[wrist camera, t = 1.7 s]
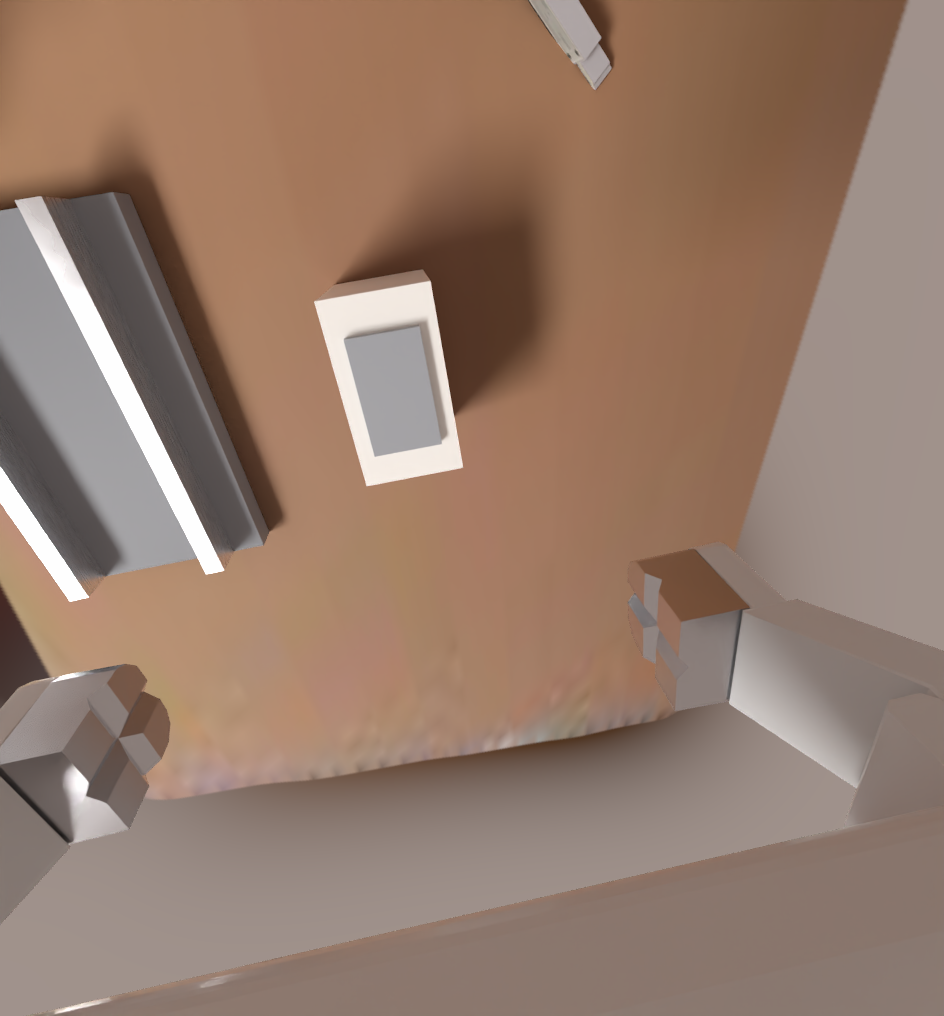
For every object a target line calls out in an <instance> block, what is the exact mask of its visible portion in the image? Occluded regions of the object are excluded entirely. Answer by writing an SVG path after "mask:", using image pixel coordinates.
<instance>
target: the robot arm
mask: <svg viewBox="0 0 944 1016" xmlns="http://www.w3.org/2000/svg"><path fill="white" fill-rule="evenodd" d="M628 583H629V584H630V586H631V588H632V589H633V591H634V592H635V593H634V594H633V596H632V597H631V599H630V600H629V601H628V619H629V624H630V628H631V632H632V635H633V638H634V640H635V643H636V645H637V647H638V649H639V651H640V652H641V654H642V656H643V657H644V658H646V659H648V660H650V661H651V662H653V663H655V664H656V669H655V678H656V680H657V682H658V683H659V685H660V687H661V688H662V690H663V692H664V693H665V695H666V697H667V698H668V700H669V702H670V703H671V705H672V707H673V708H674V710H675V711H678V710H684V709H689V708H694V707H700V706H705V705H710V704H716V703H721V702H726V701H729V704H730V705H732V706H733V707H735V708H736V709H738V710H739V711H741V712H742V713H744V714H745V715H747V716H748V717H750V718H751V719H753V720H754V721H756V722H757V723H759V724H760V725H762V726H763V727H765V728H766V729H768V730H769V731H771V732H773V733H774V734H775V735H777V736H779V737H780V738H781V739H783V740H785V741H786V742H788V743H789V744H790V745H792V746H793V747H795V748H796V749H798V750H799V751H801V752H803V753H804V754H806V755H807V756H808V757H810V758H812V759H813V760H815V761H816V762H818V763H819V764H821V765H822V766H824V767H825V768H827V769H828V770H830V771H831V772H833V773H834V774H836V775H837V776H839V777H840V778H842V779H843V780H845V781H846V782H848V783H849V784H851V785H852V786H854V787H855V788H857V789H856V792H855V795H854V797H853V800H852V803H851V806H850V808H849V811H848V814H847V817H846V821H845V825H844V828H841V829H836V830H832V831H828V832H824V833H819V834H815V835H811V836H806V837H802V838H797V839H793V840H789V841H785V842H780V843H776V844H771V845H767V846H763V847H759V848H754V849H750V850H745V851H741V852H737V853H732V854H728V855H724V856H719V857H715V858H711V859H706V860H702V861H698V862H694V863H689V864H685V865H680V866H676V867H672V868H667V869H663V870H659V871H654V872H650V873H645V874H641V875H637V876H632V877H628V878H624V879H619V880H615V881H611V882H607V883H602V884H598V885H594V886H589V887H584V888H580V889H576V890H571V891H567V892H563V893H558V894H554V895H550V896H545V897H541V898H536V899H532V900H528V901H524V902H519V903H515V904H511V905H506V906H501V907H497V908H493V909H488V910H485V911H480V912H475V913H471V914H467V915H462V916H458V917H453V918H449V919H445V920H441V921H437V922H432V923H427V924H423V925H419V926H414V927H410V928H405V929H401V930H397V931H392V932H388V933H384V934H379V935H375V936H371V937H366V938H362V939H358V940H354V941H349V942H345V943H341V944H336V945H332V946H327V947H323V948H319V949H314V950H310V951H306V952H301V953H297V954H293V955H288V956H285V957H280V958H275V959H271V960H267V961H262V962H258V963H254V964H249V965H245V966H241V967H236V968H232V969H228V970H223V971H219V972H215V973H211V974H206V975H202V976H197V977H193V978H189V979H185V980H180V981H176V982H171V983H167V984H163V985H159V986H154V987H150V988H146V989H141V990H137V991H133V992H128V993H124V994H119V995H115V996H111V997H106V998H102V999H98V1000H93V1001H90V1002H85V1003H80V1004H76V1005H72V1006H67V1007H63V1008H59V1009H54V1010H50V1011H46V1012H42V1013H37V1014H33V1015H28V1016H944V651H942V650H939V649H937V648H934V647H931V646H928V645H925V644H922V643H920V642H917V641H914V640H911V639H908V638H906V637H903V636H900V635H897V634H894V633H891V632H889V631H885V630H883V629H880V628H877V627H874V626H872V625H869V624H866V623H863V622H860V621H857V620H855V619H852V618H849V617H846V616H843V615H840V614H837V613H835V612H832V611H829V610H826V609H823V608H821V607H818V606H815V605H812V604H809V603H806V602H803V601H800V600H798V599H795V600H790V601H787V600H786V599H785V598H783V597H782V596H781V595H780V594H779V593H778V592H777V591H776V590H775V589H773V588H772V587H771V586H770V585H769V584H768V583H767V582H766V581H765V580H764V579H763V578H762V577H761V576H760V575H758V574H757V573H756V572H755V571H754V570H753V569H752V568H751V567H750V566H749V565H747V564H746V563H745V562H744V561H743V560H742V559H741V558H740V557H739V556H738V555H737V554H736V553H735V552H733V551H732V550H731V549H730V548H729V547H728V546H727V545H726V544H723V543H720V542H715V543H710V544H706V545H702V546H697V547H693V548H689V549H688V550H683V551H679V552H674V553H669V554H664V555H659V556H655V557H650V558H645V559H640V560H635V561H631V562H630V564H629V567H628ZM146 683H147V679H146V678H145V676H144V675H143V674H142V672H141V671H140V670H139V668H138V667H137V666H135V665H128V664H123V665H117V666H112V667H106V668H101V669H95V670H90V671H84V672H78V673H73V674H67V675H63V676H60V677H53V678H48V679H43V680H37V681H32V682H30V683H28V684H26V685H24V686H22V687H20V688H18V689H17V690H16V691H15V693H14V694H13V695H12V696H11V697H10V698H9V700H8V701H7V702H6V703H5V704H4V705H3V707H2V708H1V709H0V924H1V923H2V922H3V921H4V920H5V919H6V918H7V917H8V916H9V915H10V913H11V912H12V911H13V910H14V909H15V908H16V907H17V906H18V905H19V903H20V902H21V901H22V900H23V899H24V898H25V897H26V896H27V895H28V894H29V892H30V891H31V890H32V889H33V888H34V887H35V886H36V885H37V884H38V882H39V881H40V880H41V879H42V878H43V877H44V876H45V875H46V874H47V873H48V871H49V870H50V869H51V868H52V867H53V866H54V865H55V864H56V862H57V861H58V860H59V859H60V858H61V857H62V856H63V855H64V854H65V853H66V852H67V850H68V849H69V848H70V845H69V844H72V843H76V842H80V841H84V840H88V839H92V838H97V837H101V836H105V835H109V834H113V833H117V832H121V831H125V830H129V829H130V827H131V824H132V822H133V820H134V818H135V816H136V814H137V811H138V809H139V807H140V805H141V803H142V801H143V798H144V796H145V794H146V792H147V790H148V788H149V784H148V781H147V778H146V775H145V774H146V773H147V772H149V771H150V770H151V769H152V768H153V767H154V766H155V765H156V764H157V763H158V762H159V761H160V760H161V759H162V756H163V754H164V752H165V749H166V747H167V745H168V742H169V732H170V721H169V717H168V713H167V710H166V708H165V707H164V705H163V703H162V702H161V700H160V699H158V698H156V697H154V696H152V695H150V694H148V693H146V692H144V690H145V686H146Z"/></svg>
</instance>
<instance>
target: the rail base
mask: <svg viewBox="0 0 944 1016" xmlns="http://www.w3.org/2000/svg"><path fill="white" fill-rule="evenodd" d="M71 201H72V203H73V205H74V208H75V210H76V212H77V214H78V216H79V218H80V220H81V223H82V225H83V227H84V229H85V231H86V233H87V235H88V238H89V240H90V242H91V244H92V246H93V248H94V251H95V253H96V255H97V257H98V259H99V261H100V263H101V266H102V268H103V270H104V272H105V274H106V276H107V278H108V281H109V283H110V285H111V287H112V289H113V291H114V294H115V296H116V298H117V300H118V302H119V304H120V306H121V309H122V311H123V313H124V315H125V317H126V319H127V321H128V324H129V326H130V328H131V330H132V332H133V334H134V337H135V339H136V341H137V343H138V345H139V347H140V349H141V352H142V354H143V356H144V358H145V360H146V362H147V364H148V367H149V369H150V371H151V373H152V375H153V377H154V380H155V382H156V384H157V386H158V388H159V390H160V392H161V395H162V397H163V399H164V401H165V403H166V405H167V407H168V410H169V412H170V414H171V416H172V418H173V420H174V423H175V425H176V427H177V429H178V431H179V433H180V435H181V438H182V440H183V442H184V444H185V446H186V448H187V450H188V453H189V455H190V457H191V459H192V461H193V463H194V466H195V468H196V470H197V472H198V474H199V476H200V478H201V481H202V483H203V485H204V487H205V489H206V491H207V493H208V496H209V498H210V500H211V502H212V504H213V506H214V509H215V511H216V513H217V515H218V517H219V519H220V521H221V524H222V526H223V528H224V530H225V532H226V534H227V536H228V539H229V541H230V543H231V545H232V547H233V549H234V551H237V550H242V549H247V548H252V547H257V546H262V545H264V543H265V541H266V539H267V536H268V534H269V530H268V528H267V526H266V523H265V521H264V518H263V516H262V513H261V511H260V509H259V506H258V504H257V501H256V499H255V497H254V494H253V492H252V489H251V487H250V484H249V482H248V480H247V477H246V475H245V472H244V470H243V468H242V465H241V463H240V460H239V458H238V455H237V453H236V451H235V448H234V446H233V443H232V441H231V439H230V436H229V434H228V431H227V429H226V426H225V424H224V422H223V419H222V417H221V414H220V412H219V410H218V407H217V405H216V402H215V400H214V397H213V395H212V393H211V390H210V388H209V385H208V383H207V381H206V378H205V376H204V373H203V371H202V369H201V366H200V364H199V361H198V359H197V356H196V354H195V352H194V349H193V347H192V344H191V342H190V340H189V337H188V335H187V332H186V330H185V327H184V325H183V323H182V320H181V318H180V315H179V313H178V311H177V308H176V306H175V303H174V301H173V298H172V296H171V294H170V291H169V289H168V286H167V284H166V282H165V279H164V277H163V274H162V272H161V269H160V267H159V265H158V262H157V260H156V257H155V255H154V253H153V250H152V248H151V245H150V243H149V240H148V238H147V236H146V233H145V231H144V228H143V226H142V224H141V221H140V219H139V216H138V214H137V212H136V209H135V207H134V204H133V202H132V199H131V197H130V195H129V194H124V193H116V192H110V193H104V194H98V195H92V196H86V197H80V198H73V199H71ZM0 409H1V411H2V413H3V414H4V416H5V417H6V419H7V420H8V422H9V424H10V425H11V427H12V428H13V430H14V431H15V433H16V435H17V436H18V438H19V439H20V441H21V442H22V444H23V446H24V447H25V449H26V450H27V452H28V453H29V455H30V457H31V458H32V460H33V461H34V463H35V464H36V466H37V468H38V469H39V471H40V472H41V474H42V475H43V477H44V479H45V480H46V482H47V483H48V485H49V486H50V488H51V490H52V491H53V493H54V494H55V496H56V497H57V499H58V501H59V502H60V504H61V505H62V507H63V508H64V510H65V512H66V513H67V515H68V516H69V518H70V519H71V521H72V523H73V524H74V526H75V527H76V529H77V530H78V532H79V534H80V535H81V537H82V538H83V540H84V541H85V543H86V545H87V546H88V548H89V549H90V551H91V552H92V554H93V556H94V557H95V559H96V560H97V562H98V563H99V565H100V567H101V568H102V570H103V571H104V573H105V574H106V576H109V575H114V574H119V573H124V572H129V571H134V570H140V569H145V568H150V567H155V566H160V565H165V564H170V563H175V562H180V561H186V560H191V559H196V558H198V557H197V555H196V553H195V551H194V549H193V547H192V545H191V544H190V542H189V540H188V538H187V536H186V534H185V532H184V530H183V528H182V526H181V524H180V522H179V520H178V518H177V516H176V514H175V512H174V510H173V508H172V506H171V505H170V503H169V501H168V499H167V497H166V495H165V493H164V491H163V489H162V487H161V485H160V483H159V481H158V479H157V477H156V475H155V473H154V471H153V469H152V467H151V465H150V464H149V462H148V460H147V458H146V456H145V454H144V452H143V450H142V448H141V446H140V444H139V442H138V440H137V438H136V436H135V434H134V432H133V430H132V428H131V426H130V425H129V423H128V421H127V419H126V417H125V415H124V413H123V411H122V409H121V407H120V405H119V403H118V401H117V399H116V397H115V395H114V393H113V391H112V389H111V387H110V386H109V384H108V382H107V380H106V378H105V376H104V374H103V372H102V370H101V368H100V366H99V364H98V362H97V360H96V358H95V356H94V354H93V352H92V350H91V348H90V347H89V345H88V343H87V341H86V339H85V337H84V335H83V333H82V331H81V329H80V327H79V325H78V323H77V321H76V319H75V317H74V315H73V313H72V311H71V309H70V308H69V306H68V304H67V302H66V300H65V298H64V296H63V294H62V292H61V290H60V288H59V286H58V284H57V282H56V280H55V278H54V276H53V274H52V272H51V270H50V269H49V267H48V265H47V263H46V261H45V259H44V257H43V255H42V253H41V251H40V249H39V247H38V245H37V243H36V241H35V239H34V237H33V235H32V233H31V231H30V230H29V228H28V226H27V224H26V222H25V220H24V218H23V216H22V214H21V212H20V210H19V208H13V209H7V210H1V211H0Z"/></svg>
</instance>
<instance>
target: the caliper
mask: <svg viewBox="0 0 944 1016" xmlns="http://www.w3.org/2000/svg"><path fill="white" fill-rule="evenodd" d="M528 1H529V3H530V4H531V6H532V7H533V9H534V10H535V12H536V13H537V15H538V16H539V18H540V19H541V21H542V22H543V24H544V25H545V27H546V28H547V30H548V31H549V33H550V34H551V35H552V36H553V38H554V39H555V40H556V42H557V43H558V44H559V45H560V47H561V48H562V49H563V51H564V52H565V53H566V54H567V56H568V57H569V58H570V60H571V61H572V62H573V63H574V64H577V65H578V67H579V68H580V70H581V72H582V73H583V75H584V76H585V78H586V79H587V81H588V82H589V84H590V85H591V86H592V88H593V89H594V90H596V89H597V88H598V86H599V85H600V84H601V82H602V81H603V80H604V78H605V77H606V76H607V74H608V73H609V72H610V70H611V69H612V68H611V66H610V61H609V60H608V58H607V56H606V55H605V53H604V51H603V50H602V48H601V47H600V45H599V44H598V42H599V41H600V39H601V36H600V34H599V33H598V31H597V29H596V28H595V26H594V25H593V23H592V21H591V20H590V18H589V16H588V15H587V13H586V12H585V10H584V8H583V7H582V5H581V3H580V2H579V0H528Z"/></svg>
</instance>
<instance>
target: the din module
mask: <svg viewBox="0 0 944 1016" xmlns="http://www.w3.org/2000/svg"><path fill="white" fill-rule="evenodd" d="M314 302H315V306H316V310H317V313H318V317H319V320H320V324H321V327H322V331H323V334H324V338H325V341H326V345H327V348H328V352H329V355H330V359H331V362H332V366H333V369H334V373H335V376H336V380H337V383H338V387H339V390H340V394H341V397H342V401H343V404H344V408H345V411H346V415H347V418H348V422H349V425H350V429H351V432H352V436H353V439H354V443H355V446H356V450H357V454H358V457H359V461H360V464H361V468H362V471H363V475H364V478H365V482H366V485H367V486H371V485H376V484H381V483H386V482H391V481H397V480H402V479H407V478H412V477H417V476H423V475H428V474H433V473H438V472H443V471H449V470H454V469H459V468H463V464H462V459H461V453H460V447H459V442H458V436H457V430H456V424H455V419H454V413H453V407H452V401H451V396H450V390H449V384H448V378H447V373H446V367H445V361H444V356H443V350H442V344H441V338H440V333H439V327H438V321H437V315H436V310H435V304H434V298H433V292H432V287H431V281H430V279H429V278H428V277H427V275H426V274H425V272H424V271H423V269H421V270H415V271H410V272H404V273H398V274H393V275H387V276H381V277H376V278H370V279H364V280H359V281H353V282H347V283H341V284H336V285H333V286H332V287H331V288H330V289H328V290H327V291H326V292H325V293H324V294H323V295H321V296H320V297H319V298H318V299H317V300H315V301H314Z"/></svg>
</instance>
